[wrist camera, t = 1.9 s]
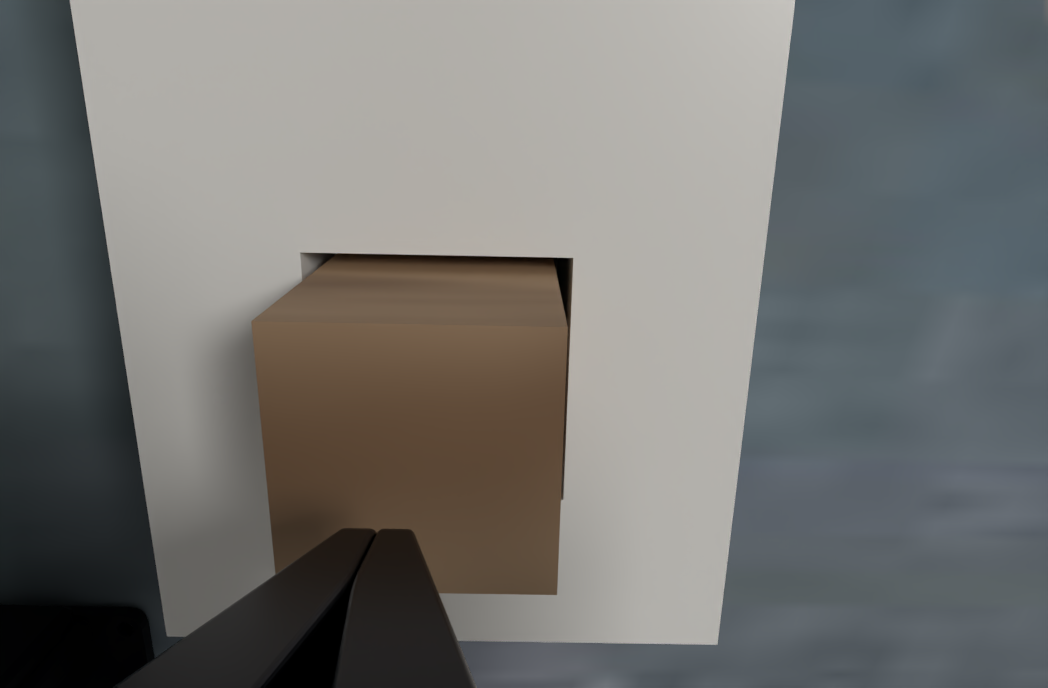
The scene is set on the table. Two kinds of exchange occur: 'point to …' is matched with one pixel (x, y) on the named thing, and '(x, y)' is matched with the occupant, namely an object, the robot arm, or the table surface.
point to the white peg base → (449, 229)
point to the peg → (420, 412)
